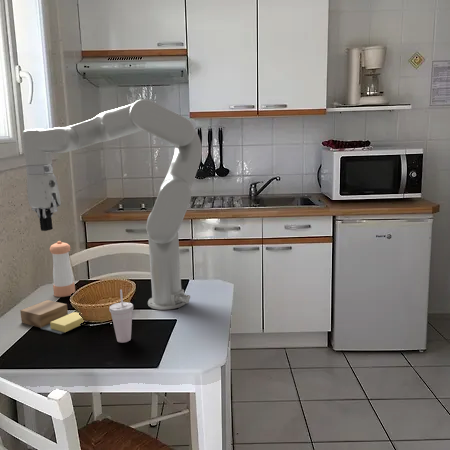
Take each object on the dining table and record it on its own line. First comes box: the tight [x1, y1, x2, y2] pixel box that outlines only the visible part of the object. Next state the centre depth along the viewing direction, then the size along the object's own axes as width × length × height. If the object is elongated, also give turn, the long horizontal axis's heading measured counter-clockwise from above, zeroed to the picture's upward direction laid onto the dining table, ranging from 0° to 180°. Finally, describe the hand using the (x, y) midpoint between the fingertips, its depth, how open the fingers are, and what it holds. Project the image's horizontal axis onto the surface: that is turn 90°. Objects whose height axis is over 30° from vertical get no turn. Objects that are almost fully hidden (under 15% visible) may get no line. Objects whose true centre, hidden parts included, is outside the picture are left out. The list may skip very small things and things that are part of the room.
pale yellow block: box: [50, 311, 84, 333], centre depth 146 cm, size 9×6×2 cm, turn 149°
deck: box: [19, 299, 69, 329], centre depth 151 cm, size 9×10×4 cm
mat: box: [40, 324, 65, 335], centre depth 147 cm, size 9×11×1 cm
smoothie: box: [108, 289, 134, 344], centre depth 134 cm, size 6×6×14 cm
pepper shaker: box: [49, 240, 76, 298], centre depth 174 cm, size 7×7×19 cm
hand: (46, 229), depth 153 cm, fingers closed
